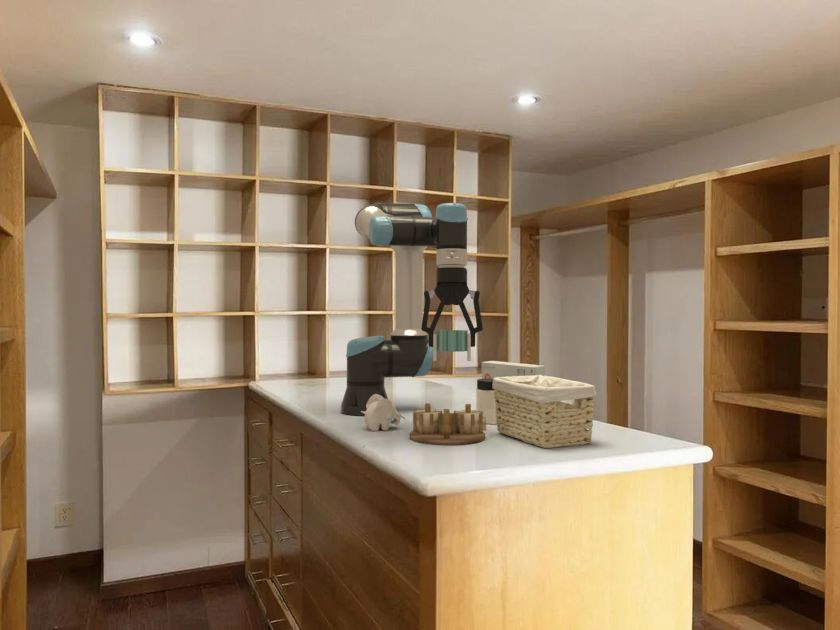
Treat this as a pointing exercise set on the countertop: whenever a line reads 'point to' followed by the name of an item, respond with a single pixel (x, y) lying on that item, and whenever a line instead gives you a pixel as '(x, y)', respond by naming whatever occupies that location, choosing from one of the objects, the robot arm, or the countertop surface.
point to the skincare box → (510, 369)
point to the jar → (486, 400)
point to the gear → (451, 340)
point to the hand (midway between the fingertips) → (451, 360)
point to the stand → (484, 423)
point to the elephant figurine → (380, 413)
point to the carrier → (447, 426)
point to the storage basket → (544, 410)
